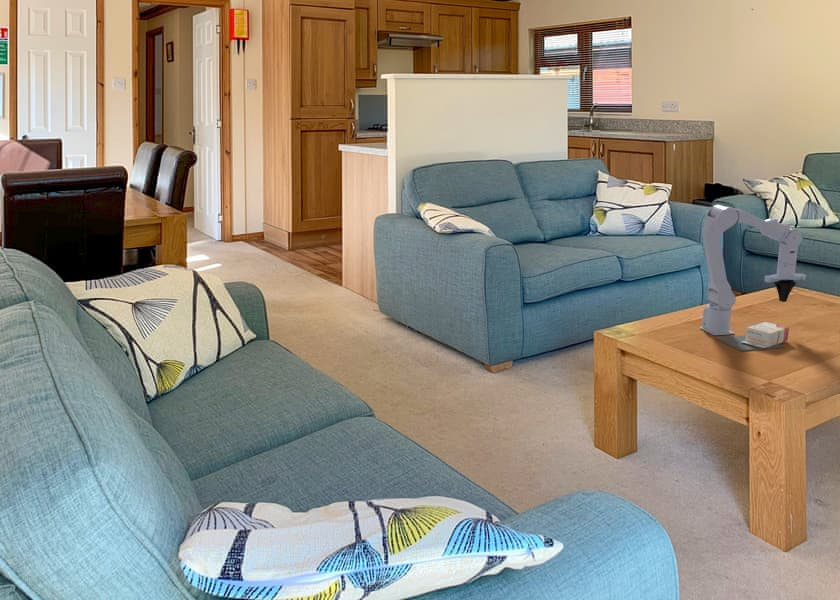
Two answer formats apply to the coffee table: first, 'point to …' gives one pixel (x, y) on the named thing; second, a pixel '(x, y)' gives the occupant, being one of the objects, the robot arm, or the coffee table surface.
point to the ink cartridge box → (766, 335)
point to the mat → (744, 344)
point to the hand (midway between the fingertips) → (782, 301)
